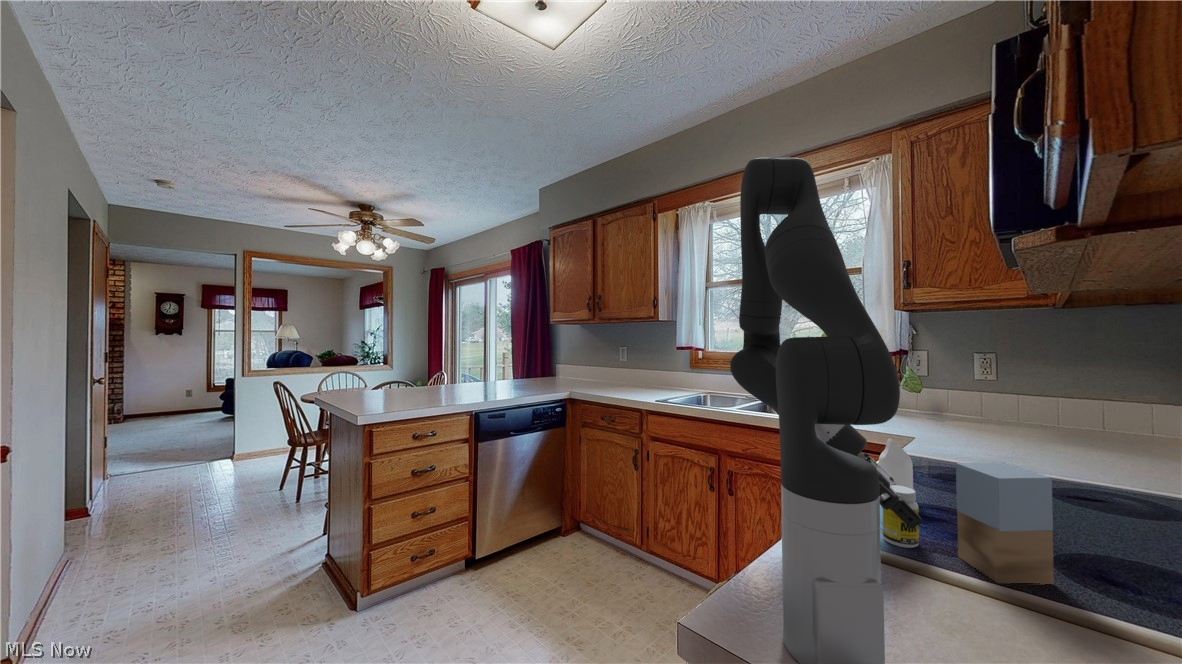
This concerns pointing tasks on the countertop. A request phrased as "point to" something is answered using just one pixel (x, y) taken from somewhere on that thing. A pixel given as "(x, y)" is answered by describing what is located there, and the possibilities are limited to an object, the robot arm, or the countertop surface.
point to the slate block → (1004, 496)
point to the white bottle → (897, 464)
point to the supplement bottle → (895, 527)
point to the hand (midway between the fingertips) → (914, 517)
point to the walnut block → (1006, 552)
